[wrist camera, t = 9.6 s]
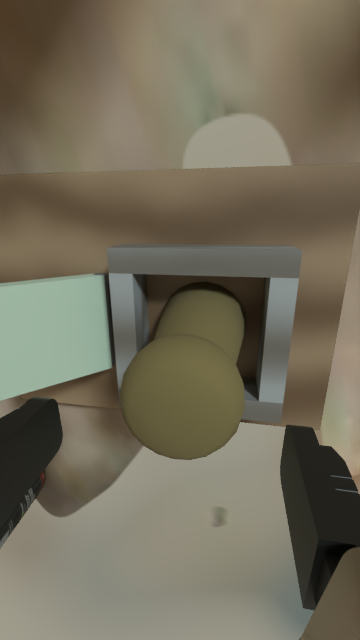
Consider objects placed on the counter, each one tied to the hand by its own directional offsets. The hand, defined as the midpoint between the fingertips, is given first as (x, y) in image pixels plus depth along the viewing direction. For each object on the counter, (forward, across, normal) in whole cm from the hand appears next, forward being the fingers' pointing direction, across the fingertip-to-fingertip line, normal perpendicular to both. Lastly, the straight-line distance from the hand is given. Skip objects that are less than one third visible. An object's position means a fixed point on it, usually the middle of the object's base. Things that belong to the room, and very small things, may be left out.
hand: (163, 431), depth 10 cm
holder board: (+13, +3, -1) cm, 14 cm away
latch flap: (+9, +10, 0) cm, 13 cm away
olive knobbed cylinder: (+12, 0, 0) cm, 12 cm away
